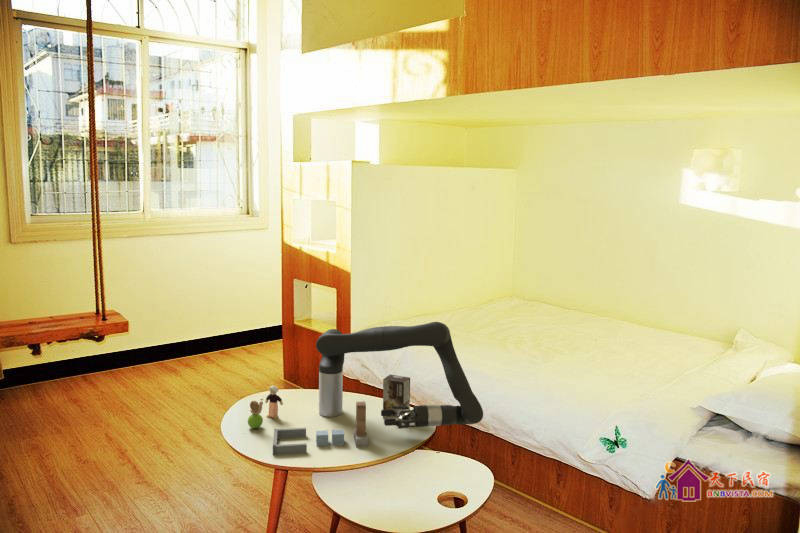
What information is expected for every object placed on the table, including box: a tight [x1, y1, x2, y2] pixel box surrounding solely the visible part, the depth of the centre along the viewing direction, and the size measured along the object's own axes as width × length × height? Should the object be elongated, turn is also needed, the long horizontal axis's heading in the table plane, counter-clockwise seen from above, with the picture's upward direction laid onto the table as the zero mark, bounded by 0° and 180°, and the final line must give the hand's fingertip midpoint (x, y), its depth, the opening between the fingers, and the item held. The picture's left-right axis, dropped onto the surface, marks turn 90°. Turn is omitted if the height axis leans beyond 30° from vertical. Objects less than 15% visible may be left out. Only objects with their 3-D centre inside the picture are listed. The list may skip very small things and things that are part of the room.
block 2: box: [331, 429, 345, 446], centre depth 216 cm, size 4×4×4 cm
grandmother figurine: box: [264, 385, 284, 420], centre depth 237 cm, size 8×4×13 cm, turn 81°
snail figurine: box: [247, 398, 264, 429], centre depth 226 cm, size 5×6×12 cm
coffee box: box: [382, 374, 411, 420], centre depth 239 cm, size 9×6×16 cm
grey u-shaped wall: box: [272, 427, 308, 456], centre depth 214 cm, size 14×11×3 cm
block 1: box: [315, 429, 329, 447], centre depth 215 cm, size 4×4×4 cm
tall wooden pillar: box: [353, 401, 369, 448], centre depth 217 cm, size 9×4×14 cm, turn 10°
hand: (382, 417), depth 218 cm, fingers open, 8 cm apart
